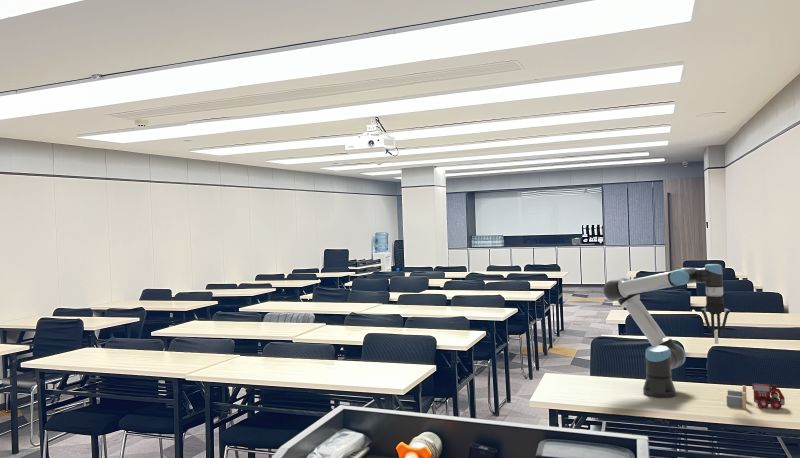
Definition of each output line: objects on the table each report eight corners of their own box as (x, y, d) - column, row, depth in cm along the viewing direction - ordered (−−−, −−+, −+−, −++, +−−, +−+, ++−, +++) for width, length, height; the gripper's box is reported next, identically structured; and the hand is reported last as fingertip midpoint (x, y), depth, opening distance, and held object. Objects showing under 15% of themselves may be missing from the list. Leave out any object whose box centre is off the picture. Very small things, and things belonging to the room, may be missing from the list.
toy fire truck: (786, 410, 255) (785, 387, 255) (754, 408, 260) (753, 385, 260) (783, 406, 261) (782, 383, 262) (751, 403, 266) (751, 381, 267)
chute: (726, 406, 263) (726, 391, 263) (728, 398, 276) (727, 384, 276) (746, 408, 259) (745, 393, 259) (746, 400, 272) (746, 385, 272)
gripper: (699, 295, 280) (701, 343, 279) (729, 296, 273) (731, 345, 272) (700, 294, 286) (702, 341, 285) (730, 295, 279) (732, 343, 279)
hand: (716, 343), depth 279 cm, fingers closed
